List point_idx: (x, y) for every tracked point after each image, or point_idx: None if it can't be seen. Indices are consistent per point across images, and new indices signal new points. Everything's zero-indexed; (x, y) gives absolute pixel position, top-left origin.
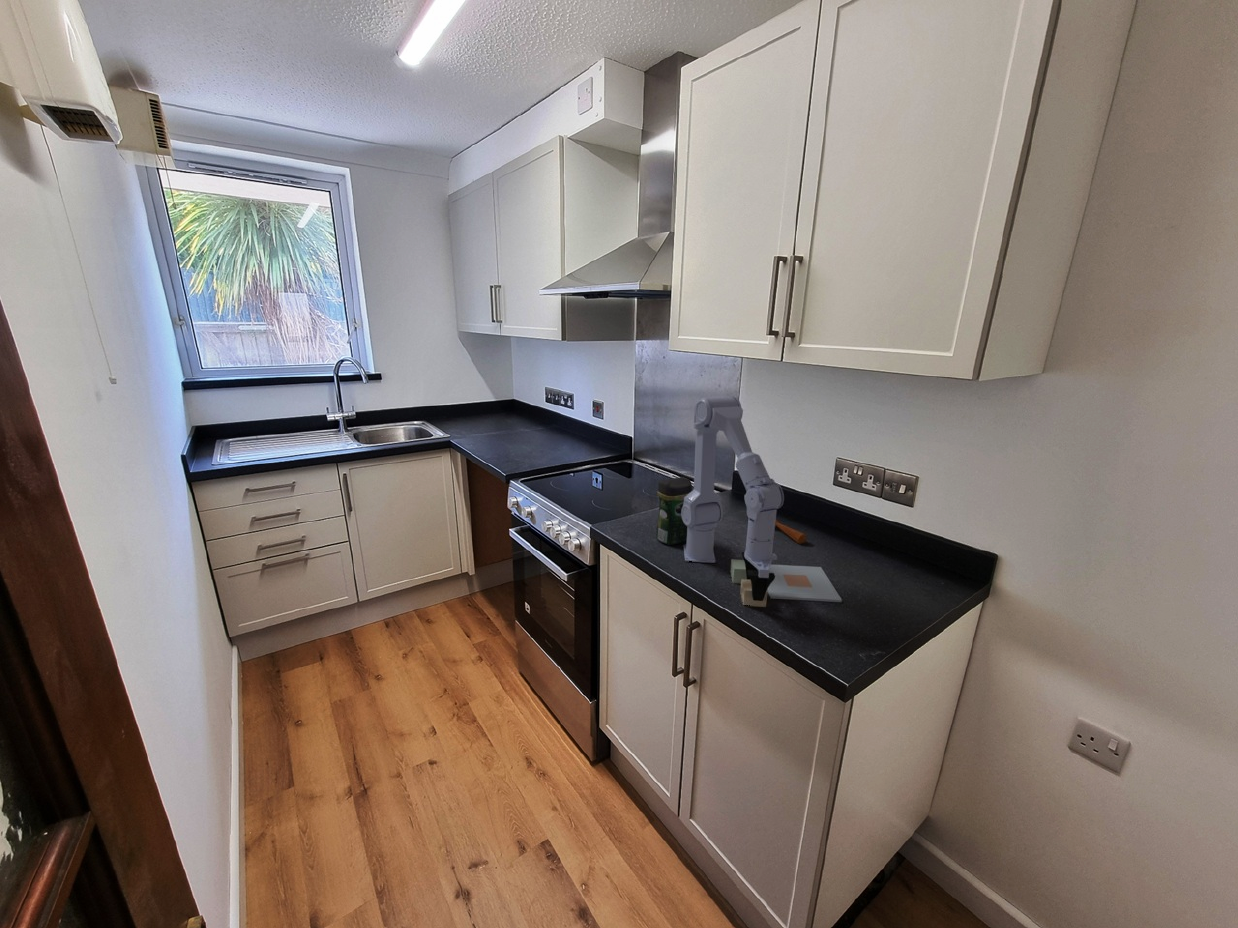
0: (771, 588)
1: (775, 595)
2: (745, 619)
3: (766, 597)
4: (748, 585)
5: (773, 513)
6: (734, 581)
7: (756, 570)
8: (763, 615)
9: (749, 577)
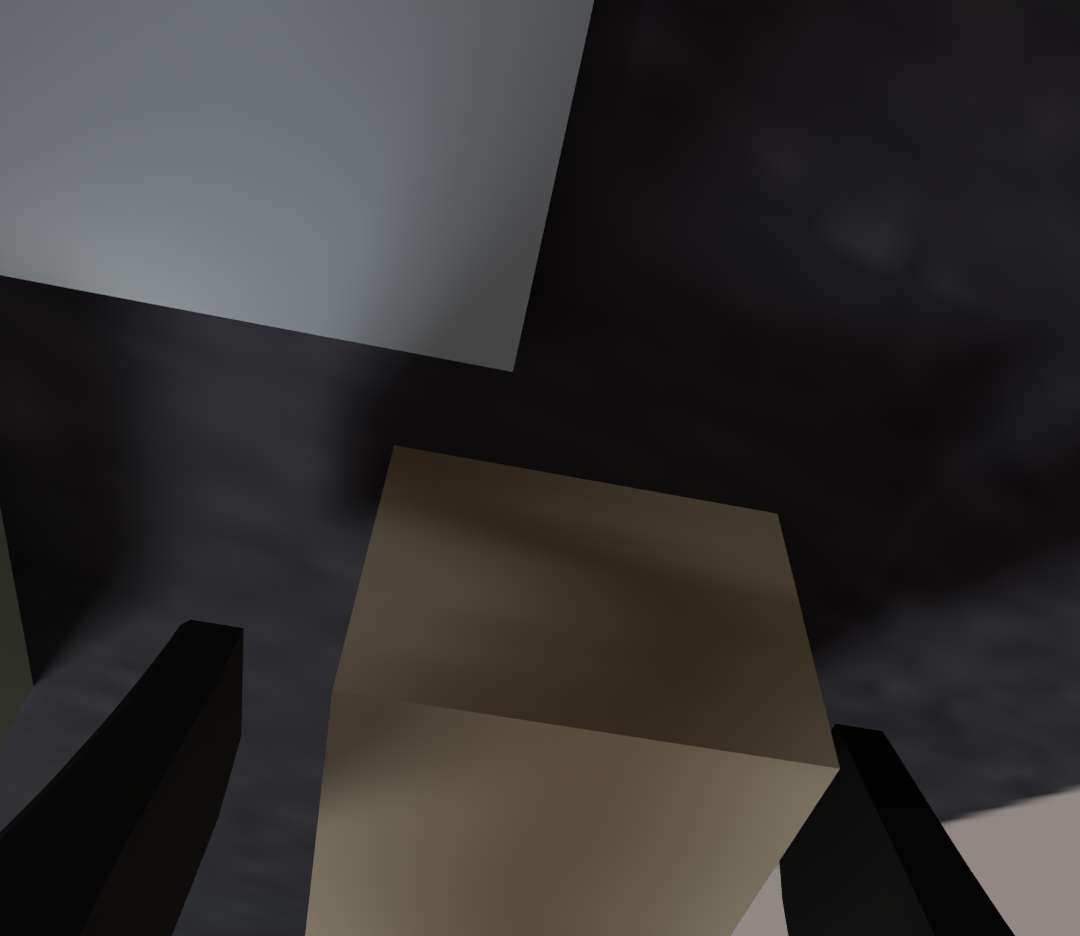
0: (191, 236)
1: (499, 271)
2: (982, 806)
3: (806, 656)
4: (538, 925)
5: None
6: (19, 696)
7: (121, 928)
8: (991, 619)
9: (202, 831)
